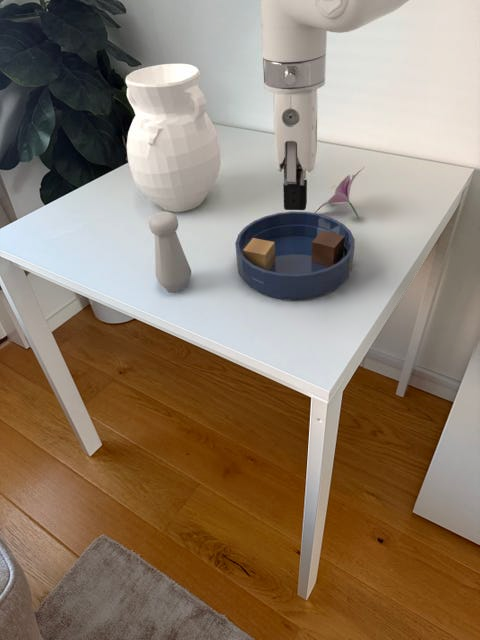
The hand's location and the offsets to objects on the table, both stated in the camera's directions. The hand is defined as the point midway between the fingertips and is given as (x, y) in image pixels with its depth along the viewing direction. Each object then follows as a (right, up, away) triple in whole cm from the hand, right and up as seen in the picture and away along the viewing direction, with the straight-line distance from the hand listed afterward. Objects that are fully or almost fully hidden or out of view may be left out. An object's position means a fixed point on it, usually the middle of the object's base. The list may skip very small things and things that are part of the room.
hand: (295, 207), depth 71 cm
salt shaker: (-19, -11, +10) cm, 24 cm away
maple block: (-5, -7, +11) cm, 14 cm away
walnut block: (+7, -6, +11) cm, 14 cm away
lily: (+11, +4, +23) cm, 26 cm away
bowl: (+1, -7, +11) cm, 13 cm away
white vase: (-21, +9, +32) cm, 39 cm away
